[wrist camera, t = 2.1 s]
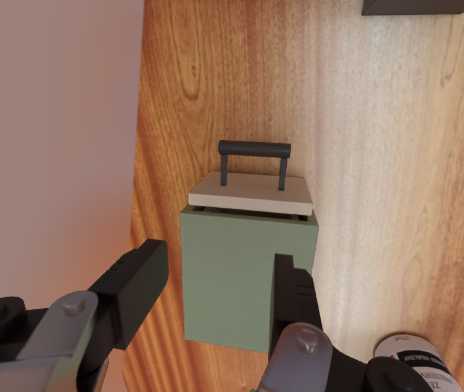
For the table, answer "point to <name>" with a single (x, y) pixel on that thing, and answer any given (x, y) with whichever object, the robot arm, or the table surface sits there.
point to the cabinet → (236, 272)
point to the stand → (412, 7)
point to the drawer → (253, 186)
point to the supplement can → (420, 360)
